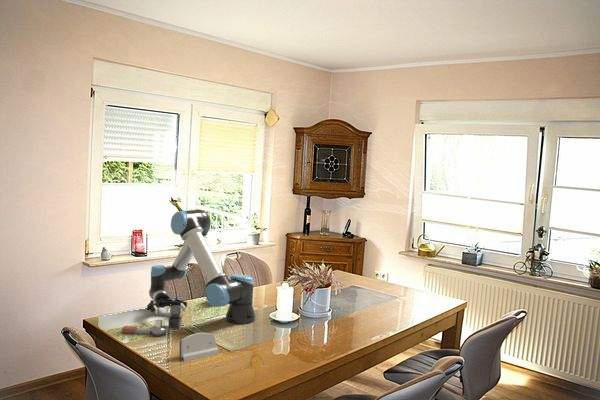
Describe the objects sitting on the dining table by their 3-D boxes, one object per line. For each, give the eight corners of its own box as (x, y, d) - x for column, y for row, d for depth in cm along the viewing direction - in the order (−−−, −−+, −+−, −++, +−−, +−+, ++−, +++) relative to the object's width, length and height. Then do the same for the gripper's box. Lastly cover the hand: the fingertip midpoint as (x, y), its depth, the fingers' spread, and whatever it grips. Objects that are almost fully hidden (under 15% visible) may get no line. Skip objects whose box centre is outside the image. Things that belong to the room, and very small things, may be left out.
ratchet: (167, 331, 248) (168, 318, 248) (163, 337, 241) (164, 323, 241) (125, 329, 248) (125, 316, 248) (120, 334, 241) (120, 321, 241)
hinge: (183, 361, 216) (180, 336, 217) (178, 361, 219) (176, 337, 221) (219, 353, 226) (216, 329, 228) (214, 353, 229) (211, 330, 231)
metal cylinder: (181, 325, 258) (181, 305, 257) (178, 328, 253) (179, 308, 252) (171, 324, 258) (171, 304, 257) (168, 328, 253) (169, 308, 252)
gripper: (184, 303, 286) (195, 315, 267) (137, 308, 275) (145, 320, 256) (184, 290, 285) (195, 301, 267) (137, 294, 274) (145, 305, 255)
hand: (171, 310), depth 261 cm, fingers open, 13 cm apart
